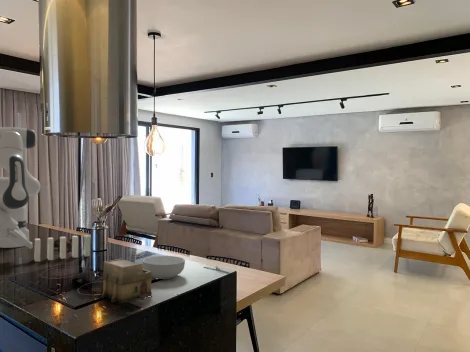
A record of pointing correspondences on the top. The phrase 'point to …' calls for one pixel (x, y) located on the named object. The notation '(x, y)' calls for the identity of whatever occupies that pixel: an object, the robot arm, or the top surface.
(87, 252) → the domino
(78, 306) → the top surface
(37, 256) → the domino
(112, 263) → the miniature house
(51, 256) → the domino
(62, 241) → the domino
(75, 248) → the domino
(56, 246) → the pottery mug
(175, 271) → the cereal bowl
